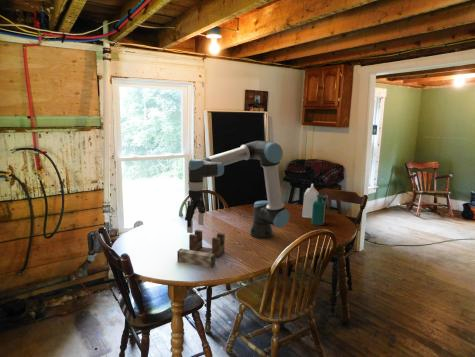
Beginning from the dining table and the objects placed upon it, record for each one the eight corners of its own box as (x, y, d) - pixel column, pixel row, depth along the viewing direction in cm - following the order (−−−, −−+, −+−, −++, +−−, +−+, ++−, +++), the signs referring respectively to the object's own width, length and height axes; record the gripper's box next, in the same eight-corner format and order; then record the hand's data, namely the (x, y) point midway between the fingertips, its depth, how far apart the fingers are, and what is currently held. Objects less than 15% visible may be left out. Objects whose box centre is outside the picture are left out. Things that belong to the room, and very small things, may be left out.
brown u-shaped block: (224, 251, 195) (224, 233, 193) (218, 258, 186) (218, 239, 184) (196, 247, 200) (196, 229, 198) (189, 253, 191) (189, 235, 189)
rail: (215, 264, 178) (215, 253, 177) (212, 267, 174) (212, 256, 173) (181, 258, 184) (180, 248, 182) (177, 261, 180) (177, 251, 179)
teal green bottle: (311, 224, 247) (313, 195, 243) (313, 221, 255) (315, 193, 251) (324, 226, 244) (326, 197, 239) (326, 223, 251) (328, 194, 247)
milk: (316, 218, 261) (319, 186, 256) (301, 217, 265) (304, 185, 260) (317, 214, 272) (320, 183, 267) (303, 213, 276) (305, 182, 271)
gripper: (199, 184, 185) (198, 220, 189) (177, 193, 161) (178, 235, 165) (211, 185, 183) (211, 222, 187) (191, 195, 159) (191, 237, 163)
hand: (195, 228), depth 176 cm, fingers open, 13 cm apart
